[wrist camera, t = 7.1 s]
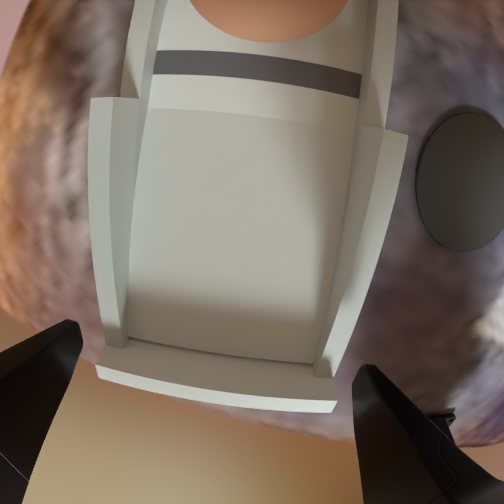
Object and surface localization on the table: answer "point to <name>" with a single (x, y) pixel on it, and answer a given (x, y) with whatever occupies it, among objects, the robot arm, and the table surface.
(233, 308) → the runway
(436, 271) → the table surface
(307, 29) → the ball
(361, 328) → the table surface
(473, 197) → the dark grey disc
